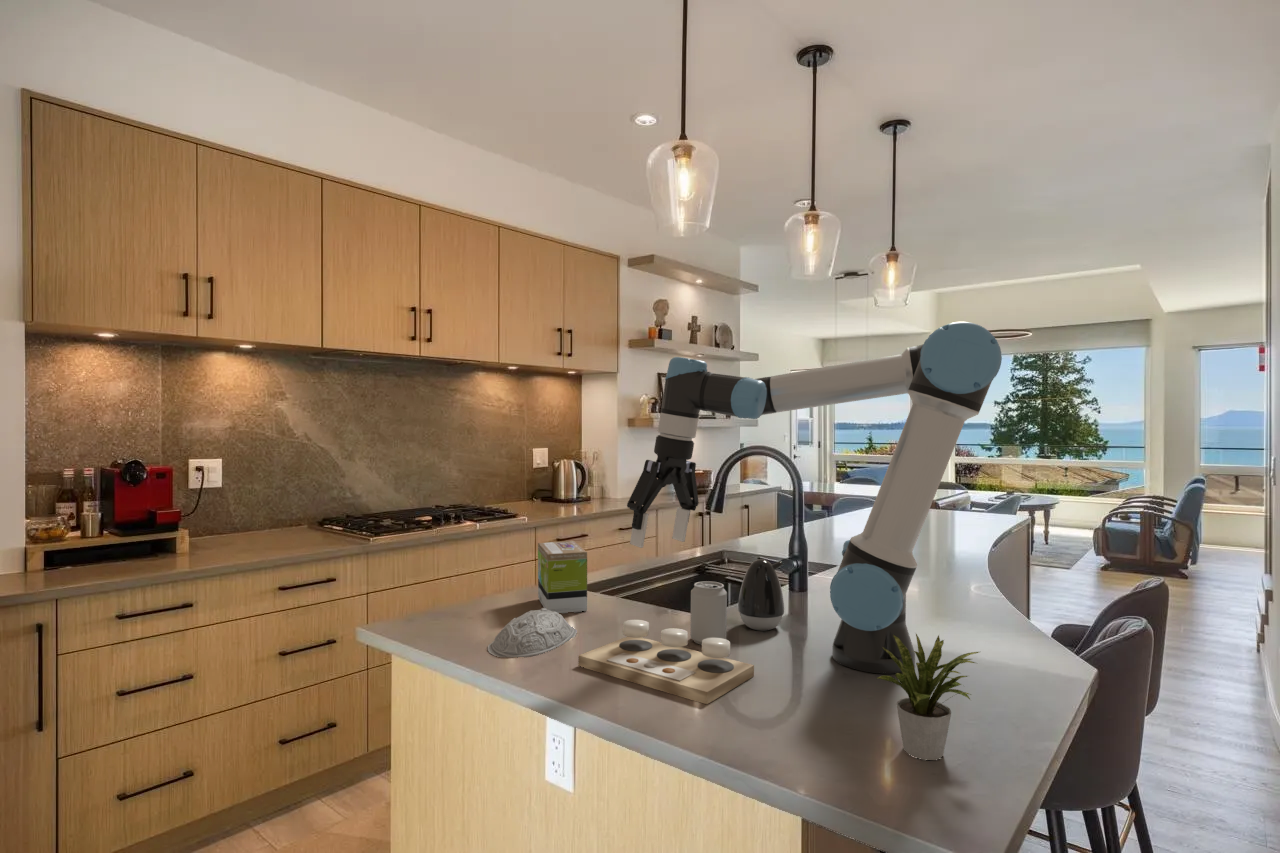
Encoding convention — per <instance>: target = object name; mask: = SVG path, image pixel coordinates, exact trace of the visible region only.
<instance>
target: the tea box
mask: <svg viewBox="0 0 1280 853" xmlns="http://www.w3.org/2000/svg"><path fill="white" fill-rule="evenodd" d="M537 595H538V597H537V598H538V600H539V602H540V604H541V605H542V608H546V609H547V610H550V611H555V612H557V613H562V614H569V613H568V612H574V613H583V612H582V611H584V612H587V611H588V552H587V551H586V550H585V549H584V548H583V547H582V546H580V544H578V543H577V542H576V541H575V540H569V541H550V542H538V543H537Z"/></svg>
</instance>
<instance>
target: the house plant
mask: <svg viewBox="0 0 1280 853" xmlns="http://www.w3.org/2000/svg"><path fill="white" fill-rule="evenodd" d="M893 636H894V635H893ZM915 637H916V643H917V650H914V651H913V652H915V656H916V657H917V659H918V661H919V662H915V666H916V668H917V674H918V676H917V674H916V670H915V667H914V664H913V661H912V658H911V655H910V653H909V650H908V649H907V648H906V646H905V645H904V644H903V643H902V642H901V640H900V639H899V638H898V637H896V636H894V638H895V641H896V643H897V645H898V648H899V651H900V654H901V657H902V661H903V664H902V663H901V662H900V660H898V659H897V658H896V657H895V656H894V655H893V654H892V653H891V652H890V651H888V650H887V649H885V648H883V649H884V650H885V651H886V652H887V653H888V654H889V655H890V656H891V658H892V659H893V660H894V662H895V663H896V664H897V665H898V666H899V668H900V669H901V671H902V673H894V676H895V677H896V678H895V677H893V676H890V675H888V674H887V675H885V674H884V675H880V676H878V677H877V679H879V680H883V681H888V682H890V683H893V684H896V685H897V686H899V687H900V688H902V689H903V690H904V691H905V692H906V694H907V696H908V697H904V698H901V699H899V700H898V701H897V702H896V709H897V716H898V723H899V728H900V729H899V730H900V734H901V743H902V748H904V749H903V751H904V750H905V751H906V752H907V753H908V754H910V755H912V756H914V757H917V758H921V759H927V760H936V759H939V758H941V757H942V756H943V757H944V753H945V748H946V742H947V737H948V732H949V726H950V721H951V717H952V711H951V708H950V707H949V706H947V705H946V704H944V702H945V703H946V701H948V700H949V699H951V698H953V697H954V695H952V696H950V697H949V698H947V699H946V700H945V701H943V702H940V701H939V700H940V699H941V697H942V696H943V694H945V693H955V694H956V695H958V694H959V695H961V696H963V697H965V698H967V699H969V700H971V698H970V697H969V695H970V696H972V694H971V693H969V692H965V691H963V690H961V689H956V688H955V687H959V686H962V685H963V687H965V686H964V684H962V683H960V682H958V680H960V679H961V678H966V677H969V675H962V673H961V672H959V671H956V670H954V669H955V668H956V667H957V666H959V665H961V664H966V663H969V664H970V663H971V664H978V663H977V662H976V661H972V660H973V658H966V657H968V656H971V655H974V654H979V653H980V651H972V652H968V653H963V654H961V655H959V656H957V657H955V658H953V659H952V660H950V661H949V662H948V663H944V664H940V665H939V663H940V660H941V658H942V647H943V645H944V644H945V643H944V641H945V639H942V640H941V639H940V633H939V634H938V636H937V637H936V638H935V642H934V645H933V647H932V649H931V651H930V653H929V655H928V657H927V659H926V655H925V650H924V648H923V646H922V643H921V640H920V638H919V636H918V634H917V633H915ZM940 669H941V670H940ZM939 670H940V672H939V673H938V674H937V675H936V676H935V673H936V671H937V672H938V671H939ZM950 673H956V674H960V675H959V676H955V677H950V676H949V674H950ZM934 676H935V677H934ZM946 679H950V680H948V681H945V680H946ZM905 751H904V752H905ZM906 752H905V753H906ZM907 753H906V754H907ZM908 754H907V755H908ZM910 755H909V756H910ZM912 756H911V757H912ZM914 757H913V758H914ZM917 758H916V759H917ZM941 759H942V758H941ZM936 761H937V760H936Z"/></svg>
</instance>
